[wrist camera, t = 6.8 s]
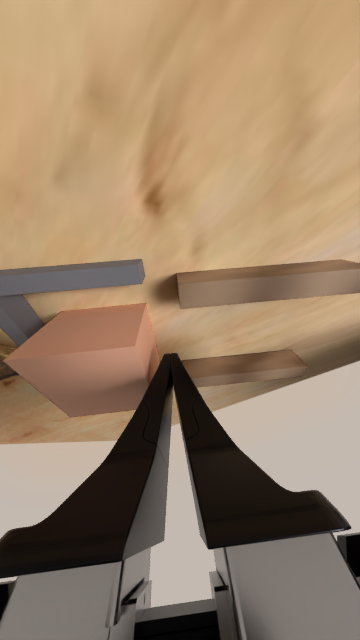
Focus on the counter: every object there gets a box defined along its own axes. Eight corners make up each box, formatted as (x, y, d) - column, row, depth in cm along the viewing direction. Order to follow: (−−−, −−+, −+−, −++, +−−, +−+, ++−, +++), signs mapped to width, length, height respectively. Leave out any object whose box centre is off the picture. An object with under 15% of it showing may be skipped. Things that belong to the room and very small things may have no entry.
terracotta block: (146, 301, 10) (134, 346, 7) (159, 357, 14) (156, 407, 10) (62, 310, 10) (2, 360, 6) (96, 364, 14) (70, 417, 10)
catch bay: (141, 259, 8) (137, 265, 7) (165, 377, 15) (165, 391, 14) (-15, 271, 8) (-47, 279, 7) (80, 386, 15) (72, 401, 14)
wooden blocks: (341, 259, 9) (378, 267, 8) (286, 359, 15) (301, 376, 13) (176, 273, 9) (178, 284, 7) (183, 370, 15) (185, 388, 13)
